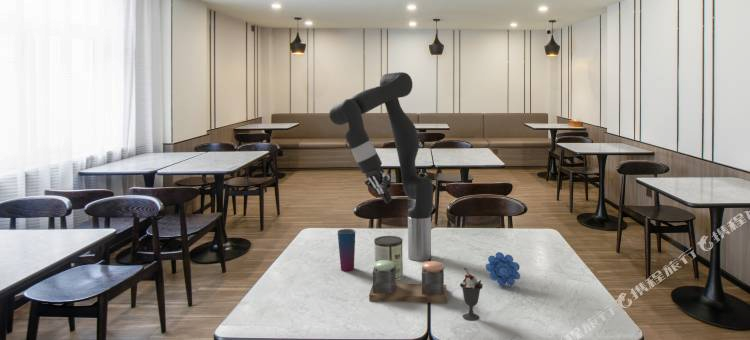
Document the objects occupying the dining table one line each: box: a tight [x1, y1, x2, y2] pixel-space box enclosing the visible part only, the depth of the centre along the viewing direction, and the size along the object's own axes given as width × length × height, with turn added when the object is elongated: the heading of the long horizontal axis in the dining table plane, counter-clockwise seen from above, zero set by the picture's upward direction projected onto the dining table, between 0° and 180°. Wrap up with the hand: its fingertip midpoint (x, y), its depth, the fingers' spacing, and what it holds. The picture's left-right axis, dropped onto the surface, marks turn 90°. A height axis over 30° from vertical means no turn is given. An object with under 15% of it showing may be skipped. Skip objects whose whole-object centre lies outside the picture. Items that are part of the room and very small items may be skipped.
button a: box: [374, 260, 394, 272], centre depth 174 cm, size 6×6×8 cm
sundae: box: [459, 267, 483, 322], centre depth 156 cm, size 7×7×15 cm
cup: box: [337, 228, 356, 272], centre depth 200 cm, size 7×7×15 cm
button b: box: [422, 260, 444, 273], centre depth 172 cm, size 6×6×8 cm
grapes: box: [485, 251, 521, 287], centre depth 179 cm, size 12×7×12 cm, turn 80°
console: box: [368, 265, 448, 304], centre depth 174 cm, size 25×11×9 cm, turn 83°
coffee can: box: [373, 235, 404, 282], centre depth 191 cm, size 10×10×14 cm
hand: (388, 202), depth 178 cm, fingers closed
